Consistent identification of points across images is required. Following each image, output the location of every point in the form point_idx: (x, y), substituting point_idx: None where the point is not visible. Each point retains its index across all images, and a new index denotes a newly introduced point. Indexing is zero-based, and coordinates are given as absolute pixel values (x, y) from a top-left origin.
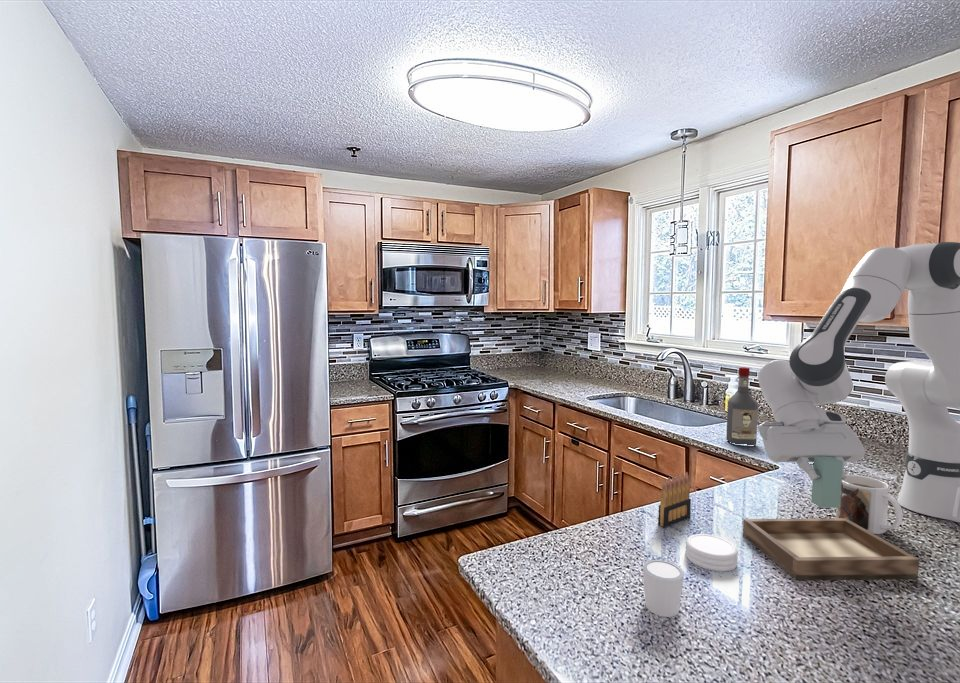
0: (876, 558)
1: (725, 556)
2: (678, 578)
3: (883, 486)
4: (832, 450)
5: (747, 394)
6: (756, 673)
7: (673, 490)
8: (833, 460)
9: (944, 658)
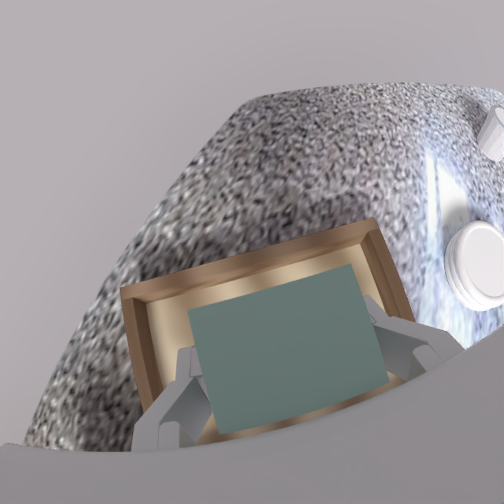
0: (203, 269)
1: (470, 223)
2: (493, 107)
3: None
4: (192, 479)
5: None
6: (409, 83)
7: None
8: (258, 316)
9: (237, 115)
